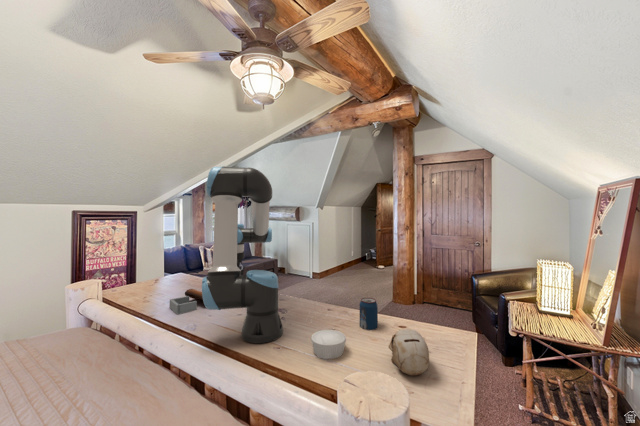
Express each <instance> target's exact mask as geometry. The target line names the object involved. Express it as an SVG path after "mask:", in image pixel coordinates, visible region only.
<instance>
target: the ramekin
mask: <svg viewBox="0 0 640 426" xmlns="http://www.w3.org/2000/svg"><path fill="white" fill-rule="evenodd" d="M310 341H311V343H312V344H311V345H312V348H313V353H314V355H315V356H316V357H318V358H320V359H323V360H333V359H337V358H339V357H341V356H342V355H343V353H344V351H345V350H344V349H345V346H346V345H345V344H346V341H347V338H346V335H345V334H344V333H343V332H341V331H339V330H335V329H323V330H322V329H321V330H318V331H316V332H314V333H313V334H311V338H310Z"/></svg>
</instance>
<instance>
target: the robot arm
mask: <svg viewBox="0 0 640 426" xmlns="http://www.w3.org/2000/svg"><path fill="white" fill-rule="evenodd" d="M206 194H207V196H208V197H210V200H211V202H213V204H214V215H213V216H214V222H213V245H212V247H213V248H212V265H211V268H210V269H209V270H208V271H207V276H204V277H202V280H201V292H202V297H203V300H202V302H203V304H204V306H205V308H206V309H207V310H210V311H215V310H217V311H221V310H229V309H230V310H231V309H244V308H245V309H246V314H245V319H244V322H243V325H242V327H241V338H242V340H244V341H246V342H247V343H252V344H253V343H254V344H262V343H263V344H264V343H268V342H273V341H275V340H277V339H279V338H280V337H281V336H282V335H283V333H284V332H283V331H284V325H283V322H282V320H281V317H280V314H279V287H280V286H279V277H278V275H277V274H276V273H275V272H272V271H269V270H263V269H251V270H248V271H246V274H244V270H245V265H243V262H242V260H244V259H245V252H244V251H245V244H250V243H253V244H257V243H259V244H261V243H263V244H265V243H271V242H272V241H273V229H272V228H271V227H269V225H270V224H269V223H270V221H269V219H270V203H271V202H270V201H272V198H273V188H272V184H271V183H270V180H269V179H268V177H267V176H266V175H265V174H264V173H263V172H261V171H260V170H259V169H256V168H254V167H238V166H237V167H236V166H225V165H223V166H213V167H212V168H210V171H209V172H208V176H207V180H206ZM244 197H249V199H250V200H251V205H252V207H251V209H252V228H251V227H248V228H247V227H246V228H245V225H244V224H243V223H239V205H240V204H241V203H242V202H243V198H244Z"/></svg>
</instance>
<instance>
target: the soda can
mask: <svg viewBox="0 0 640 426" xmlns="http://www.w3.org/2000/svg"><path fill="white" fill-rule="evenodd" d="M378 306H379V305H378V303H377V300H376V299H375V298H373V297H363V298H360V302H359V328H361V329H362V330H366V331H373V330H377V328H378V327H379V323H378V321H379V319H378V316H379V315H378V310H379V308H378Z"/></svg>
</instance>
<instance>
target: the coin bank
mask: <svg viewBox="0 0 640 426" xmlns="http://www.w3.org/2000/svg"><path fill="white" fill-rule="evenodd" d="M388 349H389V350H390V351H391V355H392V356H391V358H390V359H391V363H392V364H396V366H397V367H398V369H399V370H400V371H401V373H404V374H406V375H408V376H410V377H412V376H420V375H421V374H423V373H424V372H426V371H427V369H428V367H429V366H430V365H429V364H430V351H429V346H428V344H427V341H426V340H425V339H424V337H423V335H422V334H421V333H420V332H418V331H417V330H415V329H409V328H405V329H399V330H397V331H396V332H395V333H394V334H393V335H392V337H391V340H390V342H389V344H388Z"/></svg>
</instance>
